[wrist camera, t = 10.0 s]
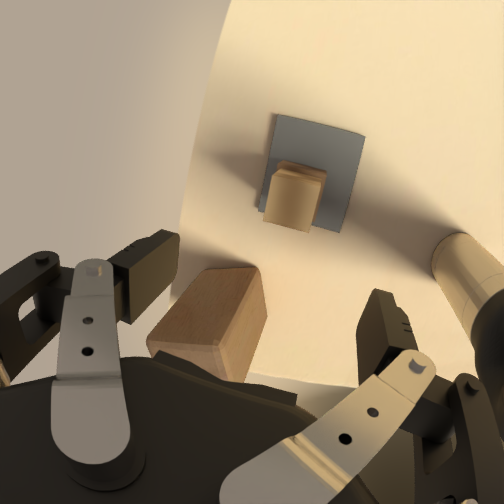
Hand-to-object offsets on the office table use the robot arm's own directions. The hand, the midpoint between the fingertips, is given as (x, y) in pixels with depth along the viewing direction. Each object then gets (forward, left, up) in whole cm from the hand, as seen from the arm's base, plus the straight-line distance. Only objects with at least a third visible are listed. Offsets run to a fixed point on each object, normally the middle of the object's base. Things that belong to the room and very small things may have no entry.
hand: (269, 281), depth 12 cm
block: (+7, +22, -32) cm, 40 cm away
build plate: (0, 0, -32) cm, 32 cm away
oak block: (+1, +2, -26) cm, 26 cm away
